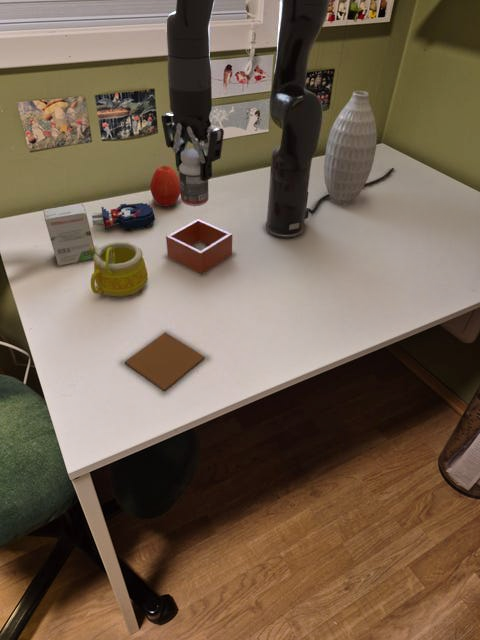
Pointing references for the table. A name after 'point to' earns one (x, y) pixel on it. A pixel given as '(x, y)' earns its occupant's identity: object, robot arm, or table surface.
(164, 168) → the red egg-shaped piece
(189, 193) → the pill bottle
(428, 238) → the table surface
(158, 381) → the cork pad
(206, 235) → the planter
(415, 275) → the table surface
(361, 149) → the vase
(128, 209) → the figurine
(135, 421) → the table surface
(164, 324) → the table surface
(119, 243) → the mug
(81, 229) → the ink box
